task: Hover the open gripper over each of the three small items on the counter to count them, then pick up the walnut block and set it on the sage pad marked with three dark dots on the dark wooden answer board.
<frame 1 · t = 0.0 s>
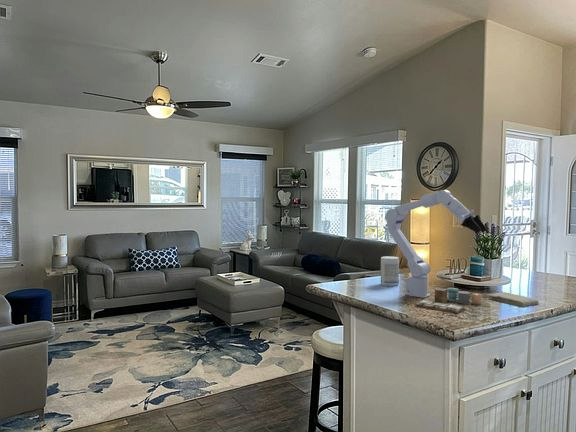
hand: (482, 231, 184), 32 cm above the counter, tool tilted 50°, fingers open, 7 cm apart
washcloth: (512, 302, 194), on the counter
walnut block: (440, 302, 190), on the counter
answer board: (439, 307, 181), on the counter
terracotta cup: (476, 303, 190), on the counter
supplement tub: (389, 285, 229), on the counter
charcoal cube: (463, 302, 191), on the counter
teal spool: (452, 299, 195), on the counter
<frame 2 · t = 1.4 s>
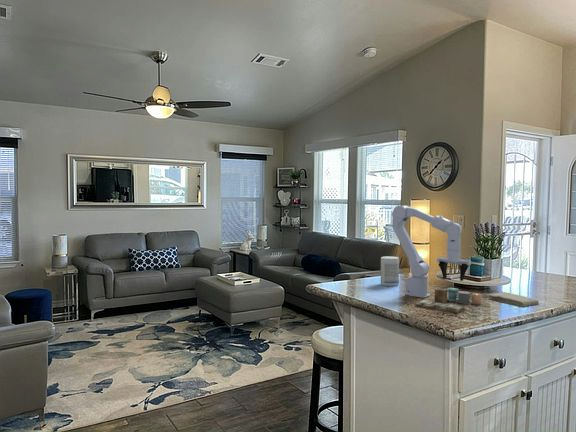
hand: (453, 279, 195), 9 cm above the counter, tool pointing down, fingers open, 7 cm apart
nothing on the counter moved.
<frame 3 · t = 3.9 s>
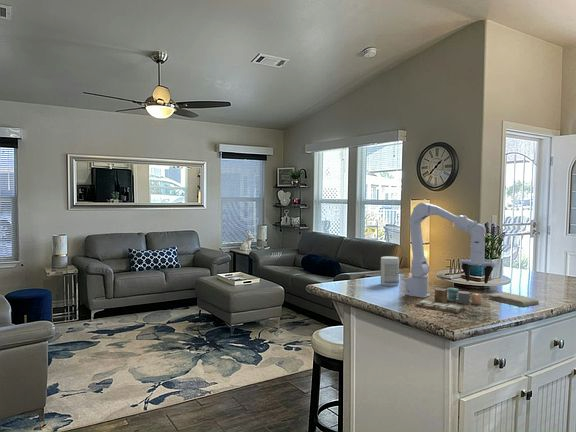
hand: (476, 282, 189), 9 cm above the counter, tool pointing down, fingers open, 7 cm apart
nothing on the counter moved.
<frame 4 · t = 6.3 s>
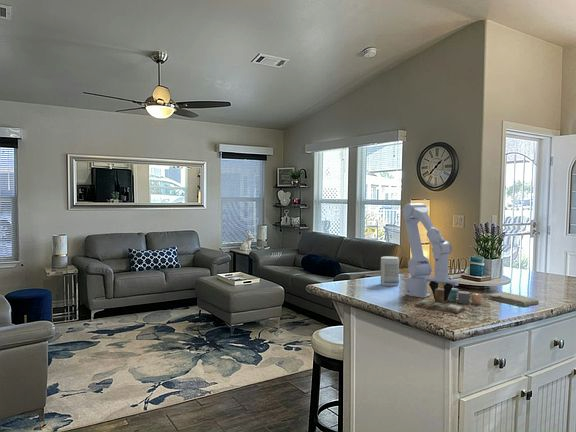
hand: (440, 299, 190), 1 cm above the counter, tool pointing down, fingers closed on walnut block, 4 cm apart
walnut block: (440, 302, 190), on the counter, touching gripper
everything else where it was.
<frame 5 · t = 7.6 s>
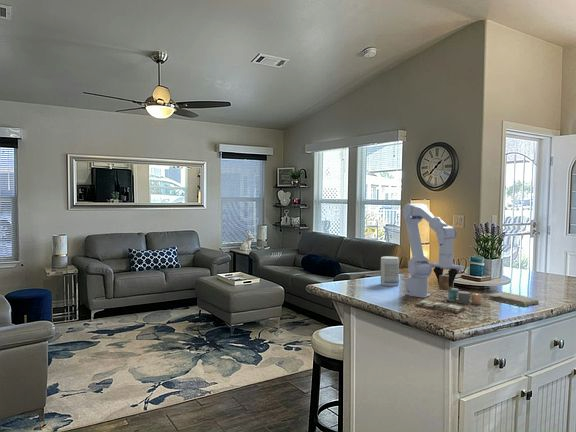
hand: (445, 285, 185), 9 cm above the counter, tool pointing down, fingers closed on walnut block, 4 cm apart
walnut block: (445, 289, 185), point 7 cm above the counter, touching gripper
everything else where it was.
when the fingers open (4 cm above the counter, at t = 9.3 s): walnut block drops 1 cm, resting on answer board.
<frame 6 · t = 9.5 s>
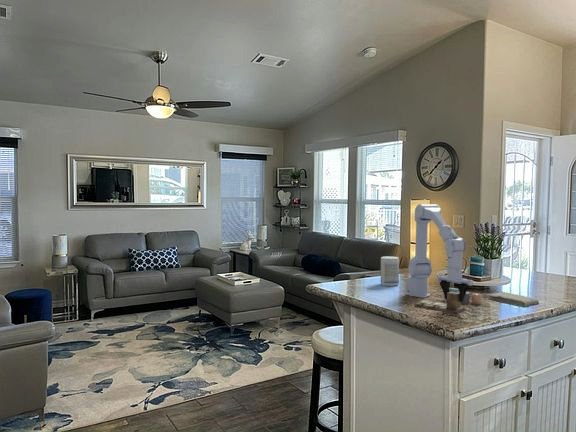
hand: (454, 300, 177), 4 cm above the counter, tool pointing down, fingers open, 6 cm apart
walnut block: (453, 307, 177), point 1 cm above the counter, touching answer board
everything else where it was.
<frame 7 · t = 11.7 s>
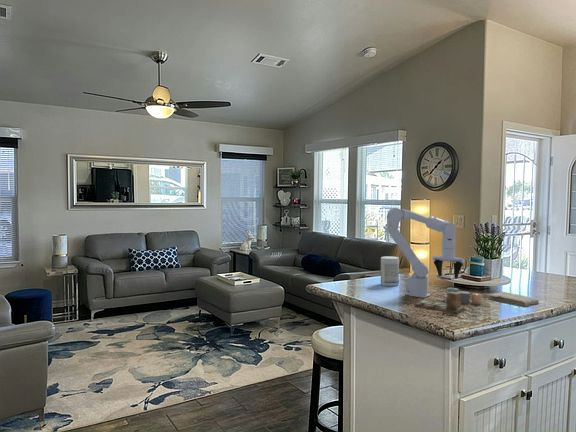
hand: (448, 276, 201), 9 cm above the counter, tool pointing down, fingers open, 7 cm apart
nothing on the counter moved.
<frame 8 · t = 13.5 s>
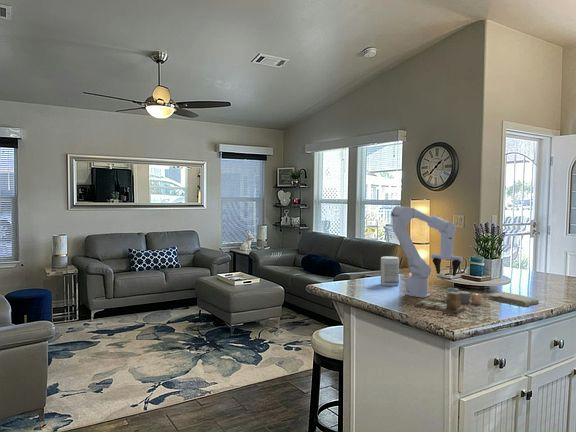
hand: (446, 274, 207), 9 cm above the counter, tool pointing down, fingers open, 7 cm apart
nothing on the counter moved.
at the end: walnut block 0.7 cm from the target spot on the answer board, point 1.3 cm above the answer board's base; walnut block tilted 0°; teal spool moved 0.2 cm from its start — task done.
